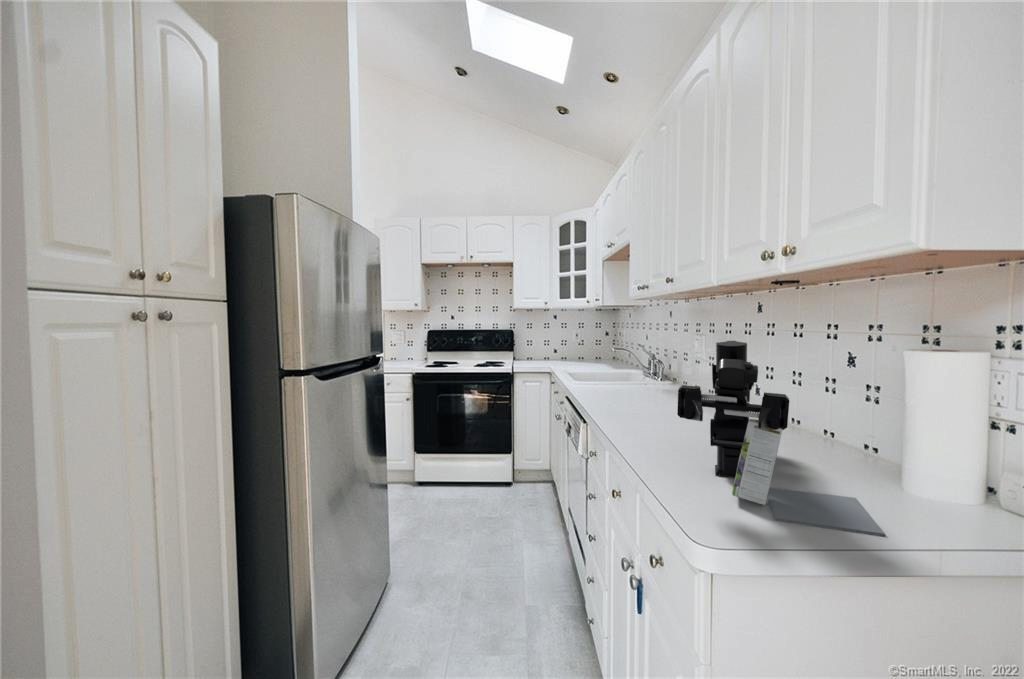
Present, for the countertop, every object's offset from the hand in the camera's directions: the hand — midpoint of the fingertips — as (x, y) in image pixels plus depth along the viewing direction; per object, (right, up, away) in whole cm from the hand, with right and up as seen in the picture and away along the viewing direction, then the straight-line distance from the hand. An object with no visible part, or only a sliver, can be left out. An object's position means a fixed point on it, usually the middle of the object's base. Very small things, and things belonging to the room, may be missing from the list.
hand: (729, 421), depth 78 cm
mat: (+17, -16, +3) cm, 24 cm away
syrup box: (+7, -16, +7) cm, 18 cm away
